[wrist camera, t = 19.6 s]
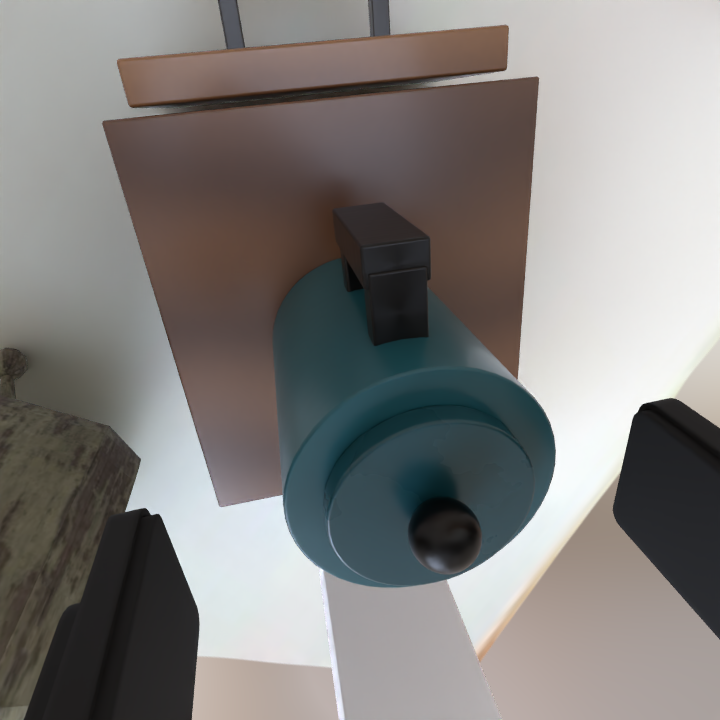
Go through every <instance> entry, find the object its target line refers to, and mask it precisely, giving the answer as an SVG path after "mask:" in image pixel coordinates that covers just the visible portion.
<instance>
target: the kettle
mask: <svg viewBox="0 0 720 720" xmlns="http://www.w3.org/2000/svg"><path fill="white" fill-rule="evenodd" d="M332 214H333V222H334V231H335V240H336V242H337V244H338V246H339V247H340V252H341V258H339V259H336V260H333V261H330V262H327V263H325V264H323V265H321V266H319V267H317V268H315V269H314V270H312V271H311V272H309V273H308V274H306V275H305V276H304V277H303V278H302V279H300V280H299V281H298V282H297V283H296V284H295V285H294V286H293V288H292V289H291V290H290V291H289V292H288V294H287V295H286V297H285V298H284V300H283V302H282V304H281V306H280V308H279V310H278V313H277V316H276V319H275V322H274V328H273V356H274V372H275V387H276V402H277V417H278V432H279V448H280V463H281V478H282V493H283V506H284V514H285V519H286V523H287V526H288V529H289V532H290V534H291V535H292V537H293V539H294V541H295V543H296V544H297V546H298V547H299V548H300V550H301V551H302V552H303V553H304V555H305V556H306V557H307V558H308V559H309V560H311V561H312V562H313V563H314V564H315V565H316V566H318V567H319V568H321V569H322V570H324V571H325V572H327V573H329V574H331V575H333V576H335V577H337V578H339V579H342V580H345V581H348V582H351V583H354V584H359V585H364V586H370V587H380V588H400V587H411V586H417V585H425V584H430V583H436V582H439V581H443V580H447V579H450V578H453V577H455V576H458V575H461V574H463V573H465V572H467V571H469V570H471V569H473V568H475V567H477V566H478V565H480V564H482V563H483V562H485V561H486V560H488V559H489V558H491V557H492V556H493V555H494V554H496V553H497V552H498V551H500V550H501V549H502V548H503V547H504V546H506V545H507V544H508V543H509V542H510V541H512V540H513V539H514V538H515V537H516V536H517V535H518V534H519V533H520V532H521V531H522V530H523V529H524V527H525V526H526V525H527V524H528V523H529V521H530V520H531V519H532V518H533V516H534V515H535V513H536V512H537V510H538V509H539V507H540V505H541V504H542V502H543V500H544V498H545V496H546V494H547V492H548V489H549V486H550V483H551V480H552V477H553V472H554V467H555V454H556V449H555V441H554V435H553V431H552V428H551V424H550V422H549V420H548V418H547V416H546V414H545V412H544V410H543V408H542V407H541V406H540V404H539V403H538V402H537V400H536V399H535V398H534V397H533V396H532V395H531V394H530V393H529V392H528V391H527V390H526V389H525V387H524V386H523V385H522V384H521V383H520V382H519V381H518V380H517V379H516V378H515V377H514V376H513V375H512V374H511V373H510V372H509V371H508V370H507V369H506V368H505V367H504V366H503V365H502V364H501V362H500V361H499V360H498V359H497V358H496V357H495V356H494V355H493V354H492V353H491V352H490V351H489V350H488V349H487V348H486V347H485V346H484V345H483V344H482V343H481V342H480V341H479V340H478V339H477V337H476V336H475V335H474V334H473V333H472V332H471V331H470V330H469V329H468V328H467V327H466V326H465V325H464V324H463V323H462V322H461V321H460V320H459V319H458V318H457V317H456V316H455V315H454V314H453V312H452V311H451V310H450V309H449V308H448V307H447V306H446V305H445V304H444V303H443V302H442V301H441V300H440V299H439V298H438V297H437V296H436V295H435V294H434V293H433V292H432V291H431V290H430V289H429V287H428V284H427V281H428V280H430V279H431V239H430V237H429V236H428V235H427V234H425V233H424V232H423V231H421V230H420V229H419V228H417V227H416V226H414V225H413V224H412V223H410V222H409V221H408V220H406V219H405V218H404V217H402V216H401V215H400V214H398V213H397V212H396V211H394V210H393V209H392V208H390V207H389V206H387V205H386V204H385V203H383V202H381V203H373V204H365V205H358V206H350V207H342V208H335V209H333V211H332Z"/></svg>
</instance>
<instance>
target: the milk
mask: <svg viewBox="0 0 720 720" xmlns="http://www.w3.org/2000/svg"><path fill="white" fill-rule="evenodd" d="M319 575H320V582H321V590H322V597H323V605H324V612H325V619H326V627H327V634H328V642H329V649H330V657H331V664H332V671H333V679H334V687H335V694H336V702H337V709H338V716H339V720H502V717H501V715H500V712H499V710H498V707H497V705H496V702H495V700H494V697H493V695H492V692H491V690H490V687H489V685H488V682H487V680H486V677H485V675H484V672H483V670H482V667H481V665H480V662H479V660H478V657H477V655H476V652H475V650H474V647H473V645H472V642H471V640H470V637H469V635H468V632H467V630H466V627H465V625H464V622H463V620H462V617H461V615H460V612H459V610H458V607H457V605H456V602H455V600H454V597H453V595H452V592H451V590H450V587H449V585H448V582H447V580H443V581H439V582H436V583H430V584H425V585H417V586H411V587H400V588H380V587H370V586H364V585H359V584H354V583H351V582H348V581H345V580H342V579H339V578H337V577H335V576H333V575H331V574H329V573H327V572H325V571H324V570H322V569H321V568H319Z"/></svg>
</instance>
